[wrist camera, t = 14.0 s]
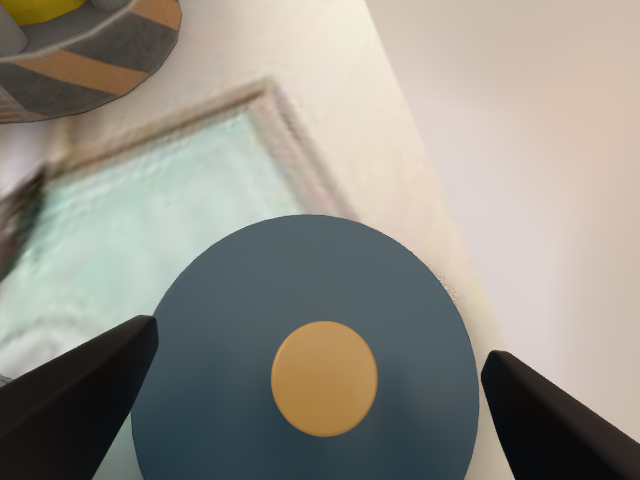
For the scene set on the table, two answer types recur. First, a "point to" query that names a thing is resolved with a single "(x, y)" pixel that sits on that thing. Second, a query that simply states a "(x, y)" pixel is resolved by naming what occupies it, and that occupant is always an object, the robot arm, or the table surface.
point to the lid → (307, 362)
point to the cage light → (78, 52)
